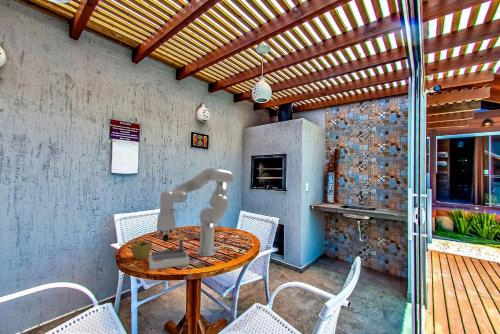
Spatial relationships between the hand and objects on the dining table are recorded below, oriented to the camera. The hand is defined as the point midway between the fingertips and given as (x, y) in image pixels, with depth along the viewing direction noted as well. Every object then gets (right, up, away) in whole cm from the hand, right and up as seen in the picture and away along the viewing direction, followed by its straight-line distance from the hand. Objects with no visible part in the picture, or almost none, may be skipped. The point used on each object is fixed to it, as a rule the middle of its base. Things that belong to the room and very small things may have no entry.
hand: (165, 241), depth 135 cm
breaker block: (+2, -13, 0) cm, 14 cm away
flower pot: (-19, -13, +7) cm, 24 cm away
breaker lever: (+8, -10, +4) cm, 13 cm away
